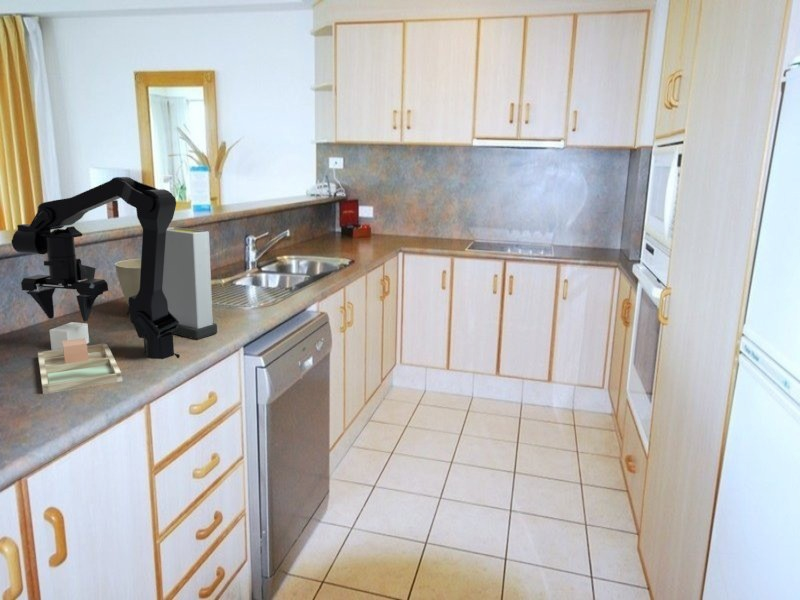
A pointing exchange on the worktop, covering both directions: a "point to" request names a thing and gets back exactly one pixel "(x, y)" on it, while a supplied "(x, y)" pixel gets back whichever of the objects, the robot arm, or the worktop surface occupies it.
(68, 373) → the slot cradle
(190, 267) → the container
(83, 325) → the block
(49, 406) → the worktop surface
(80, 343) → the terracotta block
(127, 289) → the plant pot
